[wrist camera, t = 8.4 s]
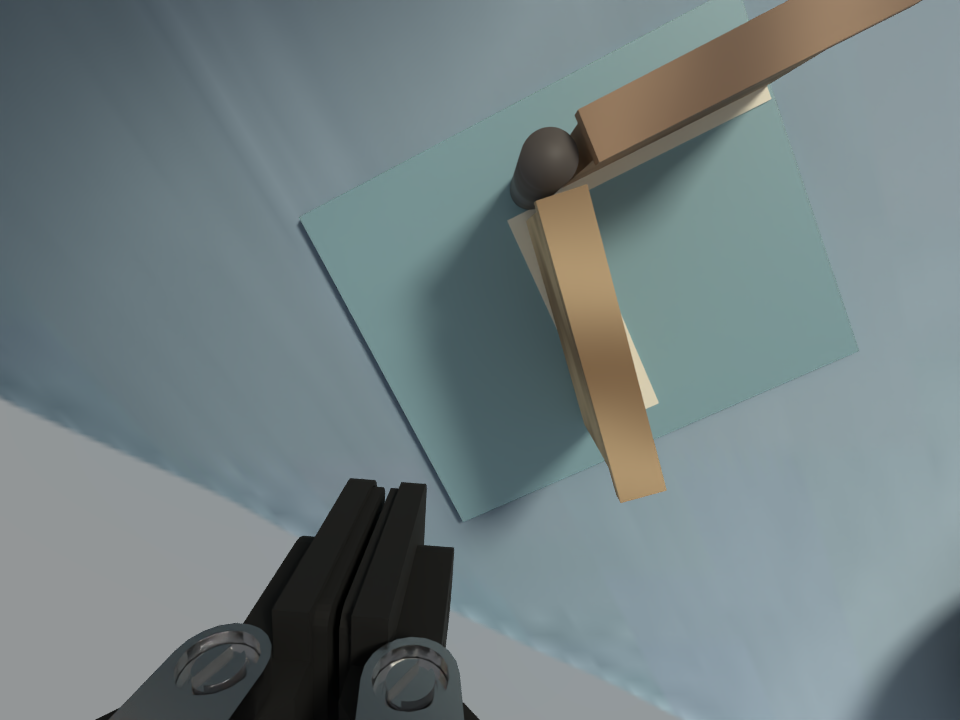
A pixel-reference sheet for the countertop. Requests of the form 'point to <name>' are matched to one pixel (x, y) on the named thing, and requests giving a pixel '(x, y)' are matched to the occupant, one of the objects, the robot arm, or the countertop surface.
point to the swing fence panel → (595, 339)
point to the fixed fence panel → (689, 90)
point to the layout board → (632, 263)
